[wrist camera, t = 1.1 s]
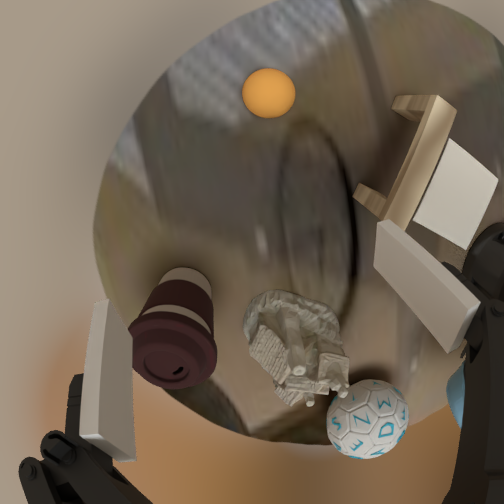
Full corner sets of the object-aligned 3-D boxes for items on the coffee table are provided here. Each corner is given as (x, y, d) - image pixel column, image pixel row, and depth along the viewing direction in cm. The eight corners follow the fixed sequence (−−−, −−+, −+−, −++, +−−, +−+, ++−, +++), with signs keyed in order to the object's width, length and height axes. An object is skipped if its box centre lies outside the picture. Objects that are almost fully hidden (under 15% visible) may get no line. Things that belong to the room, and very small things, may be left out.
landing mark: (498, 179, 36) (498, 179, 36) (465, 249, 41) (465, 250, 41) (448, 138, 34) (449, 138, 34) (412, 219, 39) (412, 220, 39)
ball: (297, 83, 31) (308, 77, 26) (280, 125, 33) (287, 126, 28) (252, 65, 30) (254, 56, 25) (234, 108, 32) (233, 106, 27)
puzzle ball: (315, 376, 50) (333, 447, 37) (395, 353, 49) (428, 415, 36) (322, 419, 57) (336, 479, 43) (390, 399, 56) (413, 454, 42)
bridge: (414, 107, 32) (457, 110, 24) (371, 205, 38) (404, 231, 29) (396, 95, 32) (437, 94, 23) (352, 196, 37) (382, 221, 29)
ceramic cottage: (269, 275, 41) (282, 362, 28) (356, 317, 46) (388, 393, 33) (215, 346, 48) (211, 428, 34) (298, 375, 52) (311, 448, 39)
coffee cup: (140, 264, 40) (101, 336, 26) (211, 249, 39) (198, 323, 26) (164, 322, 44) (142, 401, 31) (229, 312, 44) (227, 394, 30)
